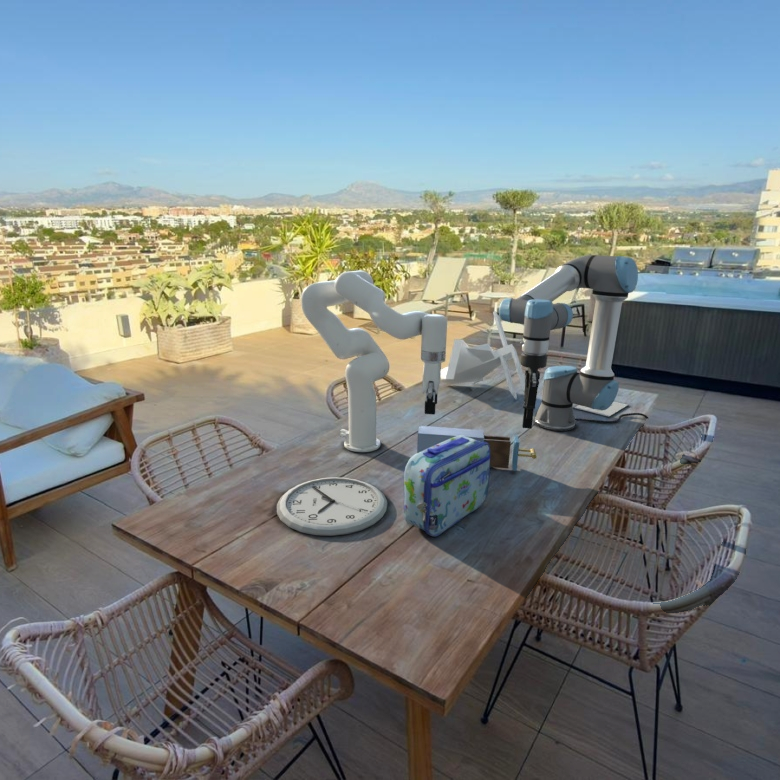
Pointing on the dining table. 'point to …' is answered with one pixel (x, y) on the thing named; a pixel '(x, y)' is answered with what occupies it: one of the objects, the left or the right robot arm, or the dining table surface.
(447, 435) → the cabinet
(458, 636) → the dining table surface
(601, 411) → the invitation card
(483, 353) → the white plastic object
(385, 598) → the dining table surface
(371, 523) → the wall clock
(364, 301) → the left robot arm
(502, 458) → the drawer
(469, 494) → the lunch box
